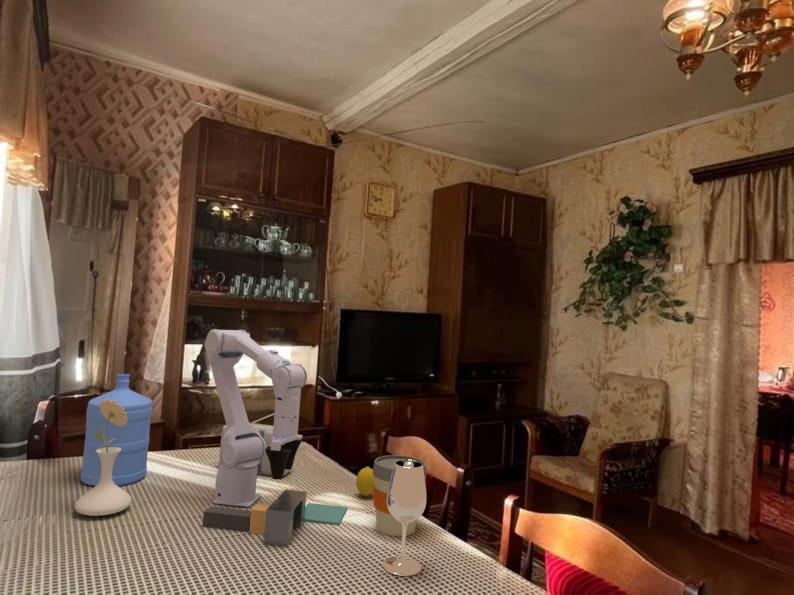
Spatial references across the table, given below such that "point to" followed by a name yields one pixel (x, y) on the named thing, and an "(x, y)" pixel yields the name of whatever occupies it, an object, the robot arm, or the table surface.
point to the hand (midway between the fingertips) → (282, 473)
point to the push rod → (227, 519)
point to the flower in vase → (106, 471)
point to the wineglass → (405, 509)
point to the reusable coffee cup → (380, 489)
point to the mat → (324, 513)
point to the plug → (258, 518)
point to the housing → (284, 517)
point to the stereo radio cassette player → (266, 434)
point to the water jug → (130, 438)
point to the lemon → (365, 481)
